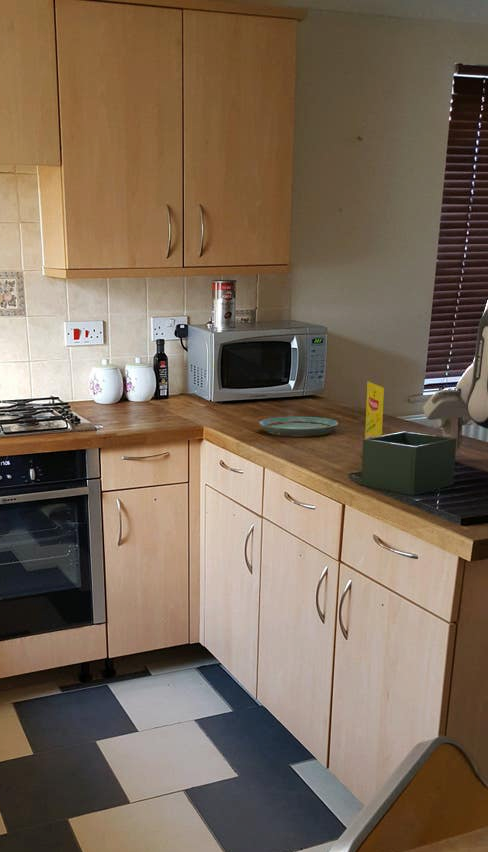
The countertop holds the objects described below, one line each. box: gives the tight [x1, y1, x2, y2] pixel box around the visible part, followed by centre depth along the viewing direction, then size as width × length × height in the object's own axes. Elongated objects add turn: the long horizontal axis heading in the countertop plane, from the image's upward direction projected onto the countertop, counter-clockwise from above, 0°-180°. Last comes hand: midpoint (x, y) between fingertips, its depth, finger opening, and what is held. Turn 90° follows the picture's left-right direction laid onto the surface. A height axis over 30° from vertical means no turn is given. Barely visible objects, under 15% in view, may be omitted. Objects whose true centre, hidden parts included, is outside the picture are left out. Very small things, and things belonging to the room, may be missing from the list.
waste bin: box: [360, 430, 457, 496], centre depth 199 cm, size 15×15×11 cm
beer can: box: [441, 417, 464, 452], centre depth 220 cm, size 5×5×12 cm
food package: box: [364, 381, 385, 439], centre depth 223 cm, size 15×1×20 cm, turn 2°
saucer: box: [259, 416, 339, 438], centre depth 274 cm, size 24×24×3 cm
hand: (451, 424), depth 221 cm, fingers closed on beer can, 5 cm apart
